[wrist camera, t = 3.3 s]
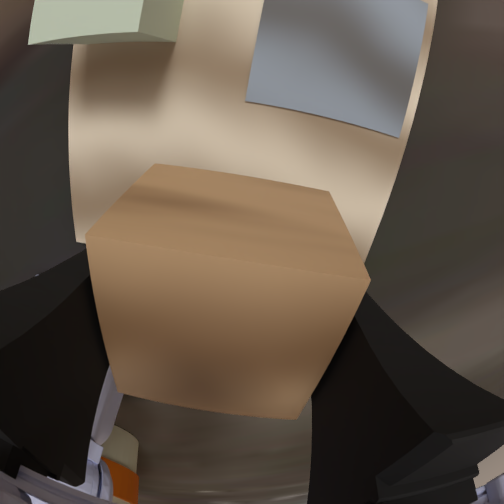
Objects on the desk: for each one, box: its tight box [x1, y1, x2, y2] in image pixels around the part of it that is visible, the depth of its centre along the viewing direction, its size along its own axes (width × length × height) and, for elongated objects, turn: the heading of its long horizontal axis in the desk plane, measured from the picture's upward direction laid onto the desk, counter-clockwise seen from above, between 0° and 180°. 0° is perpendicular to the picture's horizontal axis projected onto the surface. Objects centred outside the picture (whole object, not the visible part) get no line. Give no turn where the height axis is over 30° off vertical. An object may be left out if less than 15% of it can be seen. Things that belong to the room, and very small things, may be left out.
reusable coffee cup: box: [101, 425, 139, 504], centre depth 27 cm, size 13×12×15 cm
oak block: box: [85, 163, 371, 420], centre depth 9 cm, size 5×5×4 cm
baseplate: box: [69, 0, 438, 264], centre depth 12 cm, size 18×16×1 cm
